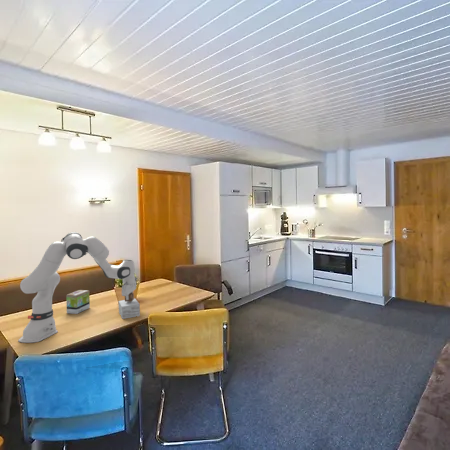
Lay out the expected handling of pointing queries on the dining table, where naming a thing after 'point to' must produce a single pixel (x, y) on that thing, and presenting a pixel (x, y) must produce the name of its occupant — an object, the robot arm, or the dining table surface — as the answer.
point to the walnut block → (130, 297)
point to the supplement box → (129, 309)
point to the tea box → (78, 301)
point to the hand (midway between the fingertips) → (129, 298)
